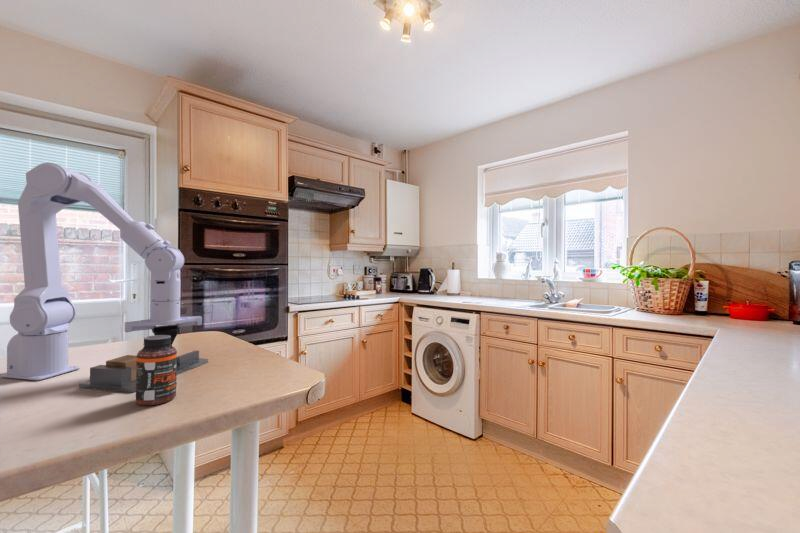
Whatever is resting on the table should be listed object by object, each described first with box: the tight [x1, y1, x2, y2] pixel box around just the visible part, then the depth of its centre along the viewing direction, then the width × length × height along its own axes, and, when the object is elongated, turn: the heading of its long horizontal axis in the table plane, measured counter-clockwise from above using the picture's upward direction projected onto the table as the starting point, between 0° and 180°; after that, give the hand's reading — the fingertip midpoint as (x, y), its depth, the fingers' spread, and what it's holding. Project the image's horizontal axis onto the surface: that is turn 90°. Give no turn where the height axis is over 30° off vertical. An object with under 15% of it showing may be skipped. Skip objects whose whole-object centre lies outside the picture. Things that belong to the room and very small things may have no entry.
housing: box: [105, 354, 137, 381], centre depth 71 cm, size 4×6×4 cm
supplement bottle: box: [135, 334, 178, 406], centre depth 62 cm, size 6×6×11 cm
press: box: [78, 350, 209, 393], centre depth 76 cm, size 12×20×4 cm, turn 171°
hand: (164, 359), depth 80 cm, fingers closed
